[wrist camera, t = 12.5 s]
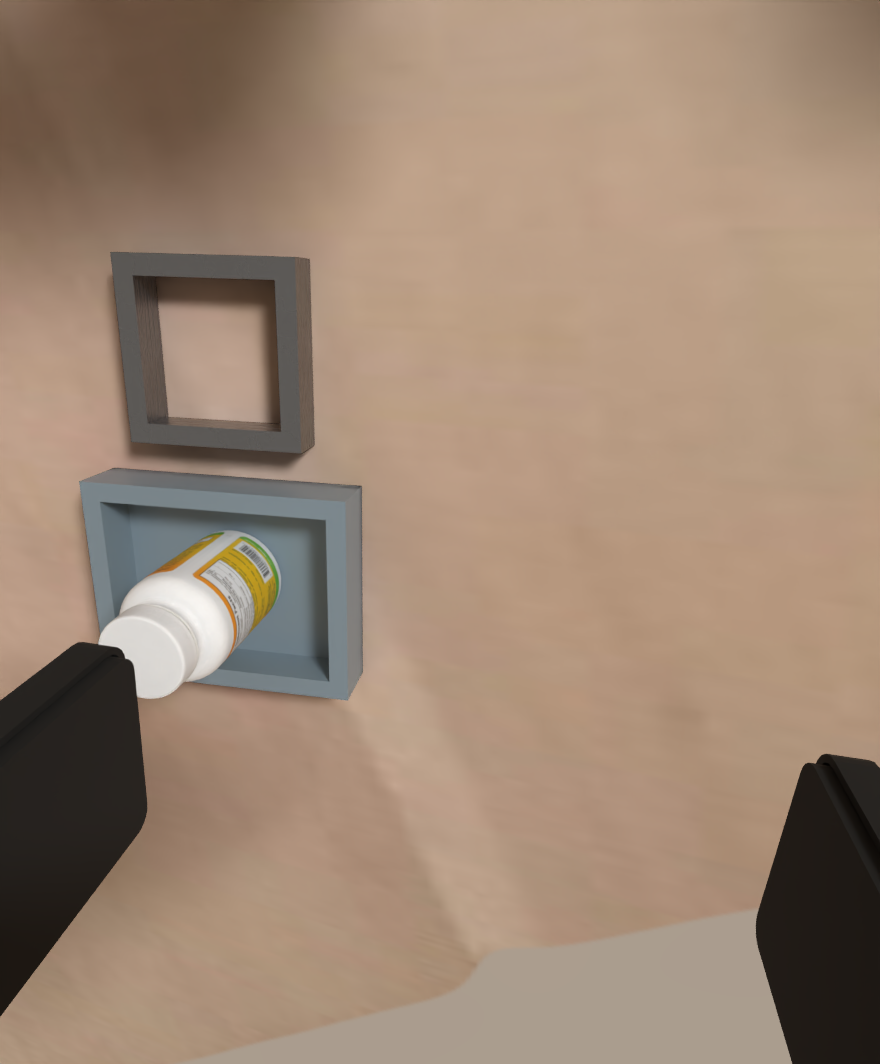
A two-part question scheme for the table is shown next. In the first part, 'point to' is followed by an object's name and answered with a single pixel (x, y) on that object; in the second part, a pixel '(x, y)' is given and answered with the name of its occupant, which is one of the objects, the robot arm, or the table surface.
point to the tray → (276, 521)
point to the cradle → (147, 359)
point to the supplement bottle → (194, 611)
